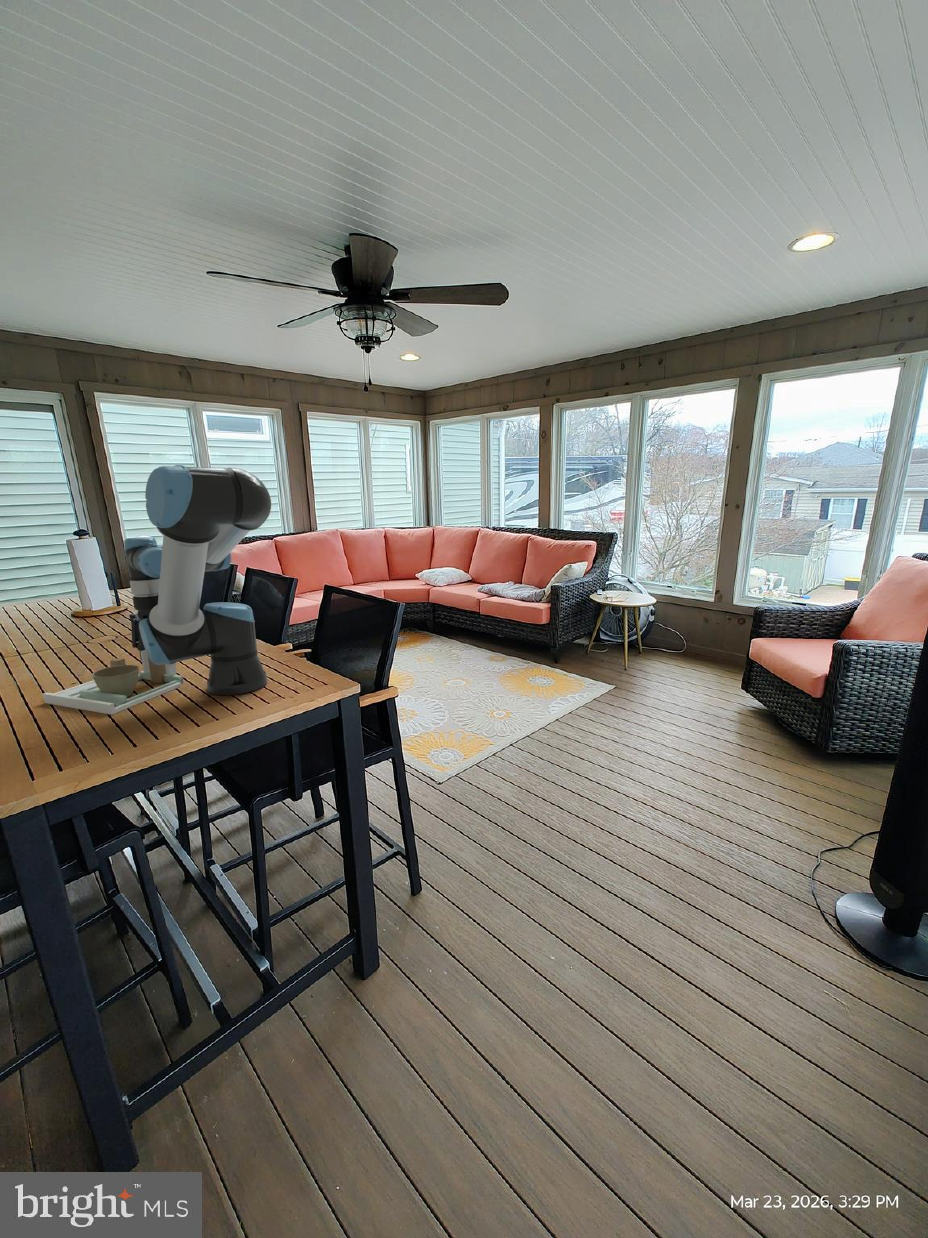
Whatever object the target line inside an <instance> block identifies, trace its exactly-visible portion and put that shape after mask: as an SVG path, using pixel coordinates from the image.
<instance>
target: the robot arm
mask: <svg viewBox="0 0 928 1238" xmlns="http://www.w3.org/2000/svg"><path fill="white" fill-rule="evenodd" d="M144 493H145V494H144V497H145V500H146V501H145V508H146V514H147V516H148V520H149V521H150V523H151V524H152V525H153V526H155V527H156V529H157V532H159V533H160V534H161V535H162V536H163V537H162V546H158V543H157V540H156V538H154V537H151V536H150V537H149V536H147V537H146V536H142V537H128V538H125V539H124V541H123V544H124V551H123V552H124V555H125V559H126V565H127V571H128V577H129V585H130V594H132V595H133V596H132V603H133V608H134V610H136V611H137V612H135V613H131V614H129V621H130V622H131V624H130V626H131V646H132V648H133V649H137V651H139V656H140V661H141V663H142V671H144V673H148V672H150V669H149V662H148V657H149V659H150V660H151V662H152V663H154V664H156V665H162V664H165V667H166V673H167V676H171V675H177V673H178V671H177V664H176V663H178V662H183V661H188V660H191V659H193V660H194V659H196V658H201V657H205V656H210V661H211V662H210V667H209V674H208V678H207V679H206V687H207V692H208V693H210V694H212V695H216V696H235V695H236V696H237V695H243V694H246V693H251V692H254V691H257V690H259V689H261V688H263V687H265V686H266V685H267V684H268V676H267V675H268V674H267V672H266V671H265V670H264V668H263V665H262V662H261V660H260V658H259V653H258V646H257V637H256V627H255V622H256V620H255V619H254V612H253V609H252V607H251V606H250V605H247V604H244V603H239V602H238V603H237V602H227V601H226V602H221V601H220V602H209V603H208V602H207V603H205V604H204V605H203V610H201V609H200V605H201V598H202V591H203V585H204V579H205V572H218V571H221V570H227V569H229V568H230V567H231V562H232V555H231V553H232V551H234V549H235V548H236V547H237V545H239V543H240V542H241V541H242V540H243V539H244V538H245V537H246V536H247V535H248V534H249V533H250V531H254V530H257V529H259V528H261V526H263V524H265V522H266V521H267V520H268V518H269V517H270V514H271V510H272V499H271V494H270V493H269V491H268V487H266V485H265V484H264V482H263V481H261V479H259V478H258V477H257V476H256V475H255V474H253V473H251V472H250V471H247V470H245V469H243V468H242V469H241V468H237V467H213V466H212V467H207V466H204V467H203V466H185V465H182V464H176V465H167V466H166V465H163V466H159V467H157V468H155V469H153V470H152V471H151V472H150V474H149V475H148V479H147V481H146V486H145V492H144ZM147 655H148V656H147Z"/></svg>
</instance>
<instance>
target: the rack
mask: <svg viewBox="0 0 928 1238" xmlns="http://www.w3.org/2000/svg"><path fill="white" fill-rule="evenodd" d="M92 682H95V681H94V679H93V680H91V681H87V682H84V683H82V684H78V685H76V686H72V687H68V688H66V689H62V690H60V691H57V692H54V693H52V692H44V693H42V697H43V700H44V701H43V702H44V704H48V705H54V706H59V707H65V708H72V709H76V710H83V711H89V712H95V713H101V714H105V715H106V714H107V715H114V714H116V713H117V714H118V713H119V712H121V711H123V710H126V709H129V708H131V707H134V706H136V705H139V704H141V703H143V702H146V701H149V700H151V699H153V698H156V697H158V696H161V695H163V694H165V693H168V692H170V691H174V690H175V689H177V688H178V689H179V688H180V687H182V683H179V682H178V683H175V684H173V685H170V686H168V687H165V688H163V689H160V690H158V691H155V692H153V693H150V694H148V695H145V696H143V697H140V698H137V699H135V700H132V701H130V702H127V703H125V704H122V705H120V706H115V705H114V703H109V702H103V701H96V700H90V699H84V698H81V697H80V694H78V695H75V696H66V695H60V694H59V693H62V692H65V691H68V690H71V689H74V688H77V687H80V686H83V685H86V684H89V683H92ZM97 689H99V688H95V689H93V691H94V690H97Z"/></svg>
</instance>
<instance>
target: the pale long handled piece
mask: <svg viewBox="0 0 928 1238" xmlns="http://www.w3.org/2000/svg"><path fill="white" fill-rule="evenodd" d="M109 663H110V667H112V666H119V665H127V664H126V659H125V658H123V657H122V658H121V657H117V658H114V659H110V660H109ZM95 688H98V686H97V685H96V683H95V682H92V683H89V684H86V685H83V686H80V687H77V688H74V689H71V690H68V691H65V692H62V693H59V694H60V695H66V696H75V695H78V694H80V692H79V691H80V690H83V689H86V690H93V689H95Z"/></svg>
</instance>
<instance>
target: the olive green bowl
mask: <svg viewBox="0 0 928 1238" xmlns="http://www.w3.org/2000/svg"><path fill="white" fill-rule="evenodd" d="M139 672H140V668H139V666H137V665H136V664H135V665H134V664H126V665H119V666H112V667H111V666H108V667H105V668H100V669H98V670H95V671H94V672H93V673H92V674H91V676H92V678H93V680H94V681H95V683H96V685H97V686H98V688H99V689H100V691H101V692H104V693H112V694H119V695H125V696H126V697H127V698H128V697H129V698H130V696H132V694H133V692H134V690H135V688H136V686H137V682H138V681H139V680H138V675H140V674H139ZM137 680H138V681H137Z"/></svg>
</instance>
